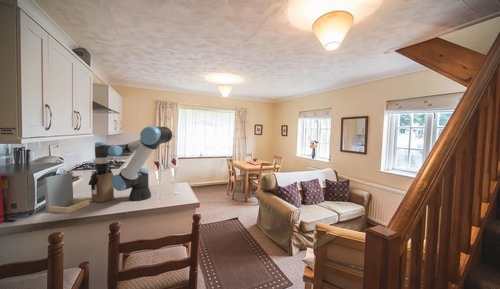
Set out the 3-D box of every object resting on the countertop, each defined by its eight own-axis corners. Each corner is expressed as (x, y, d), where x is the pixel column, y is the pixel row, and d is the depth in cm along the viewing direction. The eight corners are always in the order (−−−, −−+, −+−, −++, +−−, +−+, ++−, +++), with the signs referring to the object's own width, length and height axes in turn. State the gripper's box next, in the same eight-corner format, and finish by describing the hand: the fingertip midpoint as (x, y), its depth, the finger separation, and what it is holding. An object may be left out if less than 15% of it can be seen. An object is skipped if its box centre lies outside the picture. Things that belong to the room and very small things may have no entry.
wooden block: (102, 203, 145) (101, 175, 143) (91, 201, 147) (90, 174, 145) (114, 198, 154) (113, 172, 153) (103, 197, 156) (102, 172, 155)
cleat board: (90, 203, 143) (89, 173, 141) (67, 213, 127) (65, 178, 125) (71, 202, 145) (69, 172, 143) (46, 211, 129) (44, 177, 127)
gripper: (110, 160, 161) (111, 186, 163) (81, 165, 136) (82, 196, 138) (119, 160, 160) (119, 186, 162) (91, 166, 136) (92, 196, 137)
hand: (102, 191), depth 150 cm, fingers open, 13 cm apart
